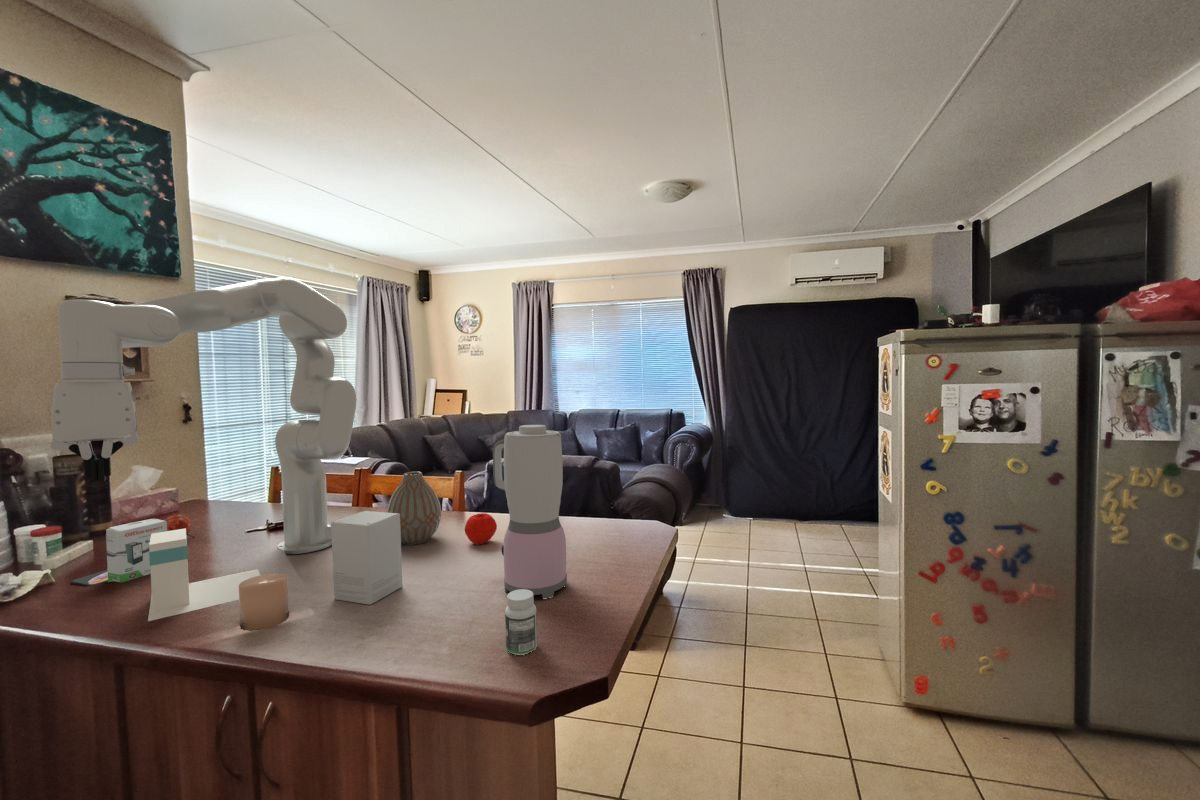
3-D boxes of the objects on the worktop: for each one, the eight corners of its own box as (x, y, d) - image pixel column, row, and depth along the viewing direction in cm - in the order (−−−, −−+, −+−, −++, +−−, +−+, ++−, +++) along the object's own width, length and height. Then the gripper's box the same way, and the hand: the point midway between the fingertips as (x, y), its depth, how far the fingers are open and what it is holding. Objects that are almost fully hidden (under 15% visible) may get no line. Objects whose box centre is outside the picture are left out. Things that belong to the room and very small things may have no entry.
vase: (395, 534, 136) (393, 469, 135) (446, 531, 137) (444, 467, 136) (380, 550, 122) (377, 479, 122) (435, 548, 124) (433, 477, 123)
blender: (578, 581, 102) (576, 424, 101) (546, 606, 91) (543, 430, 90) (514, 569, 109) (511, 421, 108) (477, 591, 98) (473, 427, 97)
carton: (189, 589, 98) (186, 528, 98) (189, 603, 92) (186, 538, 91) (154, 596, 95) (151, 533, 94) (152, 612, 88) (148, 544, 88)
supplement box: (404, 586, 101) (402, 512, 100) (370, 606, 93) (367, 525, 92) (368, 581, 104) (365, 509, 103) (332, 599, 95) (329, 521, 95)
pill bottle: (514, 638, 80) (513, 586, 80) (542, 642, 79) (541, 589, 79) (500, 654, 76) (499, 599, 75) (529, 659, 74) (528, 602, 74)
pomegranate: (181, 545, 136) (141, 530, 129) (201, 520, 138) (163, 505, 132) (188, 554, 131) (147, 539, 124) (209, 528, 134) (170, 512, 127)
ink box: (121, 588, 102) (117, 531, 101) (107, 585, 104) (103, 528, 103) (170, 573, 110) (167, 519, 109) (156, 570, 112) (153, 517, 111)
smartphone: (173, 559, 117) (91, 585, 103) (173, 563, 117) (92, 589, 103) (150, 556, 119) (68, 581, 105) (150, 559, 119) (68, 585, 105)
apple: (493, 548, 123) (492, 518, 123) (460, 548, 123) (460, 518, 123) (500, 537, 131) (499, 509, 131) (469, 538, 131) (469, 509, 131)
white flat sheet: (258, 574, 108) (257, 568, 108) (267, 599, 96) (267, 592, 96) (152, 597, 98) (152, 591, 98) (148, 628, 85) (147, 621, 85)
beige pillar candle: (285, 607, 92) (284, 570, 92) (292, 621, 87) (290, 581, 87) (238, 620, 88) (236, 580, 88) (242, 635, 82) (240, 593, 82)
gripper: (152, 374, 94) (157, 472, 94) (33, 374, 84) (39, 484, 85) (151, 373, 88) (155, 478, 89) (22, 373, 78) (28, 491, 79)
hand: (98, 481), depth 87 cm, fingers closed
